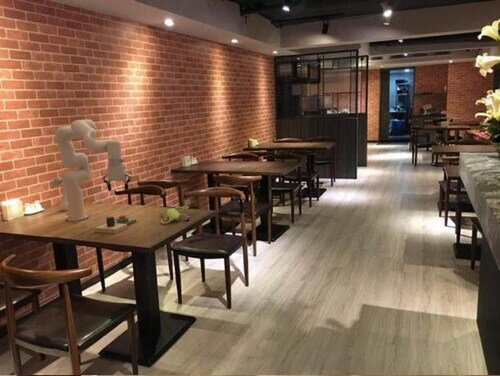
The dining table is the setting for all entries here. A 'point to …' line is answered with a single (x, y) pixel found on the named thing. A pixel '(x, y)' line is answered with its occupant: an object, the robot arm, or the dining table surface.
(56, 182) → the flower vase
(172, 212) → the figurine
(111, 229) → the cream flat block
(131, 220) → the housing
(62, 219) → the dining table surface
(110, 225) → the knob
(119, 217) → the button
